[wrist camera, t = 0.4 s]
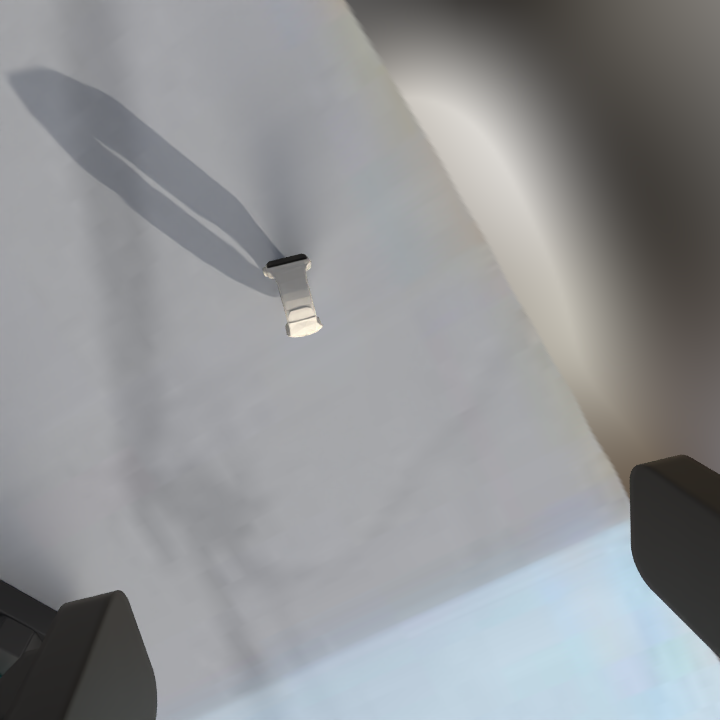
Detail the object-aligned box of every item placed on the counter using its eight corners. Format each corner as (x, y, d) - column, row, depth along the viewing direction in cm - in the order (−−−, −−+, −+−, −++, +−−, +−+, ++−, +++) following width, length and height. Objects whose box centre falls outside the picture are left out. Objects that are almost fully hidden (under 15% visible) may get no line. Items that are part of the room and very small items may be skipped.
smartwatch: (322, 321, 28) (332, 339, 24) (281, 332, 28) (283, 351, 24) (304, 250, 27) (311, 257, 23) (261, 261, 26) (261, 269, 23)
